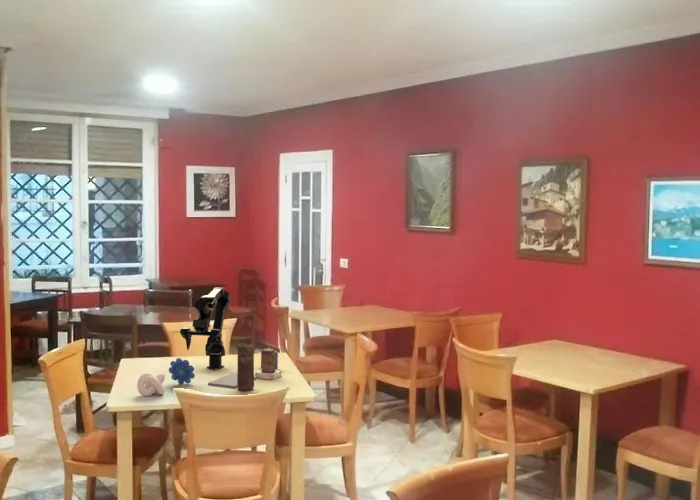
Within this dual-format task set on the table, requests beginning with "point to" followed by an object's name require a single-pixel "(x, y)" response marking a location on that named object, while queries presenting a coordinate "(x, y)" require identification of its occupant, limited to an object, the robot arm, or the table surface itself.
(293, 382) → the table surface
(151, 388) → the pink knotted tube
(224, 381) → the serving board
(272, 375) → the socket frame
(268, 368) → the brown wooden block
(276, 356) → the flask
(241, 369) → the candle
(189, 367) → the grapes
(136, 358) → the table surface
